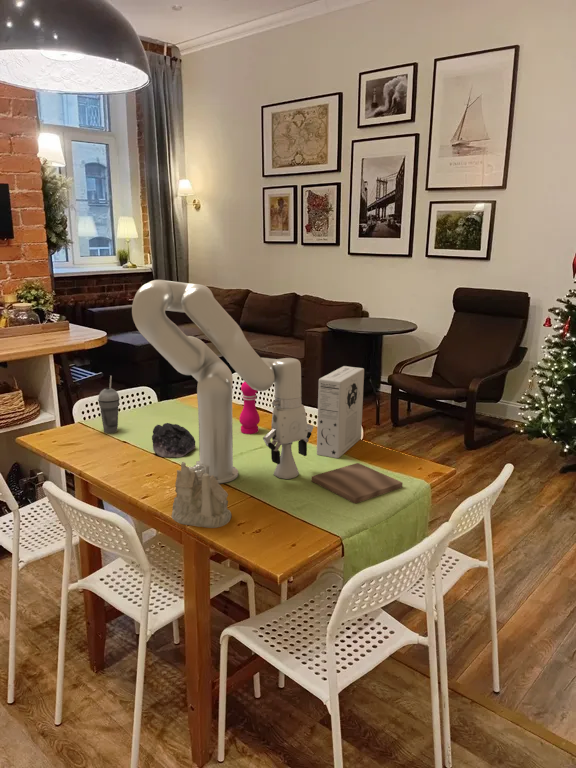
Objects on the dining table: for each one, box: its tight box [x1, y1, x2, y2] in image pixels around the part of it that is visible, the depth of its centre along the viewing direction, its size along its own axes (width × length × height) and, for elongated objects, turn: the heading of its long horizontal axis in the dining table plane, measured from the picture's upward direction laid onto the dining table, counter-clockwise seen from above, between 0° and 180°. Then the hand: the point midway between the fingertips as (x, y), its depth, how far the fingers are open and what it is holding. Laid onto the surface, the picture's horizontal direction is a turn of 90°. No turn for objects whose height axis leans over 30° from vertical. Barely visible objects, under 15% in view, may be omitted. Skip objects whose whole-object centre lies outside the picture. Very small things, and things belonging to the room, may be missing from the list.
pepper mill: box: [239, 381, 261, 435], centre depth 210 cm, size 7×7×20 cm
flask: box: [272, 442, 300, 480], centre depth 173 cm, size 7×7×10 cm
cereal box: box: [316, 365, 365, 459], centre depth 195 cm, size 22×8×25 cm, turn 154°
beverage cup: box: [97, 375, 120, 434], centre depth 208 cm, size 7×7×20 cm
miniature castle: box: [171, 461, 232, 529], centre depth 149 cm, size 16×16×15 cm
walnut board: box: [311, 462, 403, 505], centre depth 168 cm, size 18×18×2 cm
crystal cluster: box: [151, 422, 197, 458], centre depth 191 cm, size 13×14×10 cm
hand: (289, 458), depth 173 cm, fingers open, 9 cm apart
